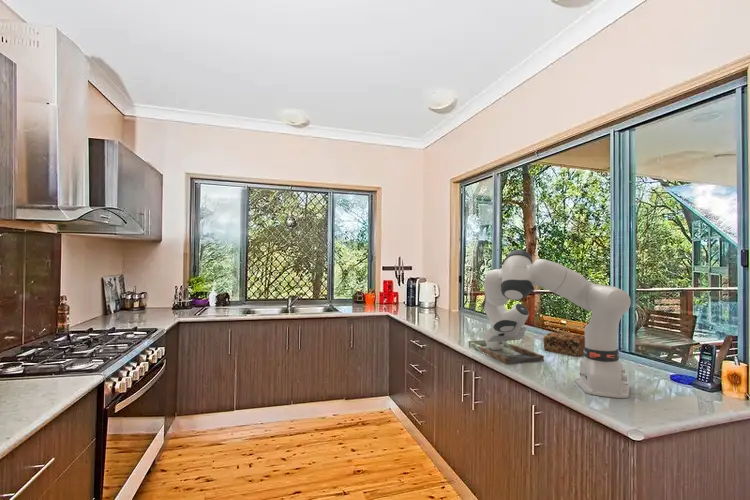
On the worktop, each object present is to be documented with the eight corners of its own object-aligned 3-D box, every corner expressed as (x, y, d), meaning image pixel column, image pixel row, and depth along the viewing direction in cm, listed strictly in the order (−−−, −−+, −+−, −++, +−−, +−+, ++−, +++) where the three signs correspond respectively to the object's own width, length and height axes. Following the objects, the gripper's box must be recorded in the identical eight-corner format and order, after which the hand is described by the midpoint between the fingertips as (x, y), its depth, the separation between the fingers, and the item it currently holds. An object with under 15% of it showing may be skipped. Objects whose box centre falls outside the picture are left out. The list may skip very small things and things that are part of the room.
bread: (588, 354, 200) (587, 334, 201) (578, 357, 194) (577, 337, 194) (552, 347, 215) (552, 329, 215) (542, 350, 209) (542, 331, 209)
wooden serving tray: (543, 361, 188) (543, 354, 188) (506, 364, 183) (506, 357, 183) (500, 344, 225) (500, 338, 225) (468, 346, 220) (468, 341, 220)
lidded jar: (481, 347, 217) (480, 330, 217) (498, 346, 220) (498, 329, 220) (491, 351, 207) (490, 333, 207) (509, 350, 209) (509, 332, 209)
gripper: (524, 321, 203) (514, 337, 212) (489, 323, 198) (479, 339, 207) (530, 332, 198) (519, 347, 208) (494, 334, 193) (484, 349, 203)
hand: (499, 343), depth 207 cm, fingers closed, pressing on lidded jar
